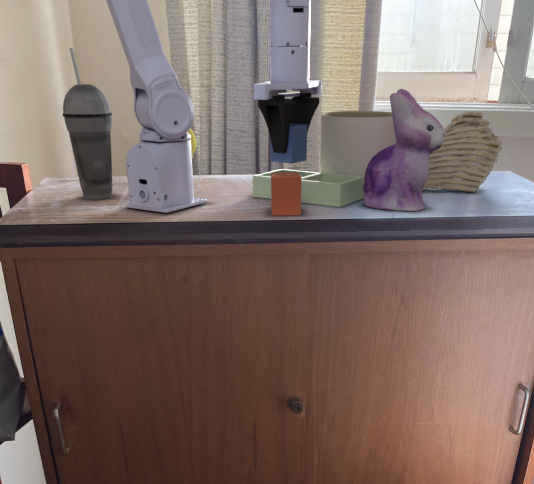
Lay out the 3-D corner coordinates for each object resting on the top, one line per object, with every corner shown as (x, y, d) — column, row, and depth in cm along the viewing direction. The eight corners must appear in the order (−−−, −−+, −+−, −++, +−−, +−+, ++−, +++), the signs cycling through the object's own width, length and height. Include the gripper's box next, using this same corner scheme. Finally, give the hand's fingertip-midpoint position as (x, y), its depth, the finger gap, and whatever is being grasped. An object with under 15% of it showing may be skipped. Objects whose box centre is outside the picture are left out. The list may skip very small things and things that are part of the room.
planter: (329, 196, 107) (333, 118, 101) (310, 183, 118) (312, 111, 112) (404, 192, 109) (412, 116, 103) (379, 180, 120) (384, 110, 114)
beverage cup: (110, 202, 104) (92, 47, 93) (66, 200, 105) (43, 47, 95) (128, 193, 110) (112, 47, 99) (86, 192, 111) (66, 47, 101)
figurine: (438, 212, 97) (453, 90, 89) (366, 212, 97) (375, 91, 89) (425, 199, 105) (438, 87, 97) (359, 199, 105) (366, 87, 97)
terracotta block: (300, 215, 95) (301, 176, 93) (272, 215, 95) (272, 177, 93) (298, 209, 99) (299, 172, 96) (270, 209, 99) (270, 172, 96)
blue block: (291, 163, 103) (292, 126, 100) (270, 161, 105) (270, 125, 103) (306, 160, 106) (307, 124, 103) (285, 158, 108) (286, 123, 105)
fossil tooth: (403, 194, 115) (494, 185, 114) (410, 199, 109) (505, 189, 108) (403, 117, 109) (498, 107, 108) (410, 119, 104) (510, 108, 103)
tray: (364, 198, 106) (365, 176, 104) (339, 207, 100) (340, 184, 98) (280, 189, 113) (280, 168, 111) (252, 196, 107) (252, 175, 106)
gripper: (296, 46, 104) (294, 144, 112) (236, 47, 95) (238, 154, 102) (335, 46, 101) (331, 147, 108) (276, 46, 91) (276, 157, 98)
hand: (288, 151), depth 105 cm, fingers closed on blue block, 4 cm apart
